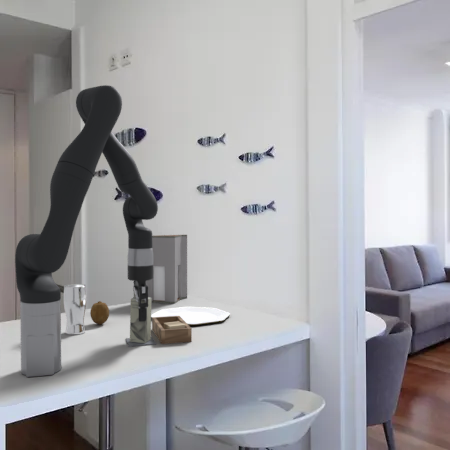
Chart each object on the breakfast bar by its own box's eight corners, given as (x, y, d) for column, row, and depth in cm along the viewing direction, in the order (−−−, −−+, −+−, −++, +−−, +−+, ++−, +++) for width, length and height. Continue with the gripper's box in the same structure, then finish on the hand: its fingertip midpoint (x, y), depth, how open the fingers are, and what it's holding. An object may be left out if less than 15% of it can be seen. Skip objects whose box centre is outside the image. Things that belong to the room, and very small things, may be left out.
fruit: (113, 323, 169) (113, 300, 169) (99, 327, 164) (99, 303, 164) (100, 321, 173) (100, 298, 172) (86, 325, 167) (86, 301, 167)
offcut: (185, 332, 148) (185, 324, 148) (169, 334, 146) (169, 326, 146) (178, 329, 153) (178, 321, 153) (163, 331, 151) (163, 322, 151)
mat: (156, 344, 144) (156, 343, 144) (128, 346, 141) (128, 345, 141) (152, 337, 151) (152, 336, 151) (125, 339, 149) (125, 338, 149)
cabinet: (185, 297, 219) (185, 234, 218) (195, 301, 211) (195, 235, 210) (141, 302, 208) (141, 235, 207) (150, 306, 200) (150, 237, 199)
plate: (235, 312, 190) (235, 308, 189) (217, 329, 163) (217, 325, 163) (168, 309, 196) (168, 305, 196) (139, 324, 169) (139, 320, 169)
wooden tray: (191, 341, 147) (191, 328, 147) (161, 344, 144) (161, 330, 144) (179, 327, 164) (179, 315, 164) (152, 329, 161) (152, 317, 161)
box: (129, 342, 145) (129, 298, 144) (136, 338, 149) (135, 296, 149) (145, 343, 143) (145, 299, 143) (152, 339, 148) (152, 297, 147)
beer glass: (78, 328, 162) (78, 283, 162) (91, 332, 158) (90, 285, 157) (59, 332, 157) (59, 285, 156) (72, 336, 152) (71, 288, 152)
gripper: (157, 265, 140) (157, 322, 141) (149, 260, 154) (149, 312, 154) (130, 266, 138) (130, 324, 138) (125, 261, 151) (125, 313, 152)
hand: (140, 318), depth 146 cm, fingers open, 8 cm apart
